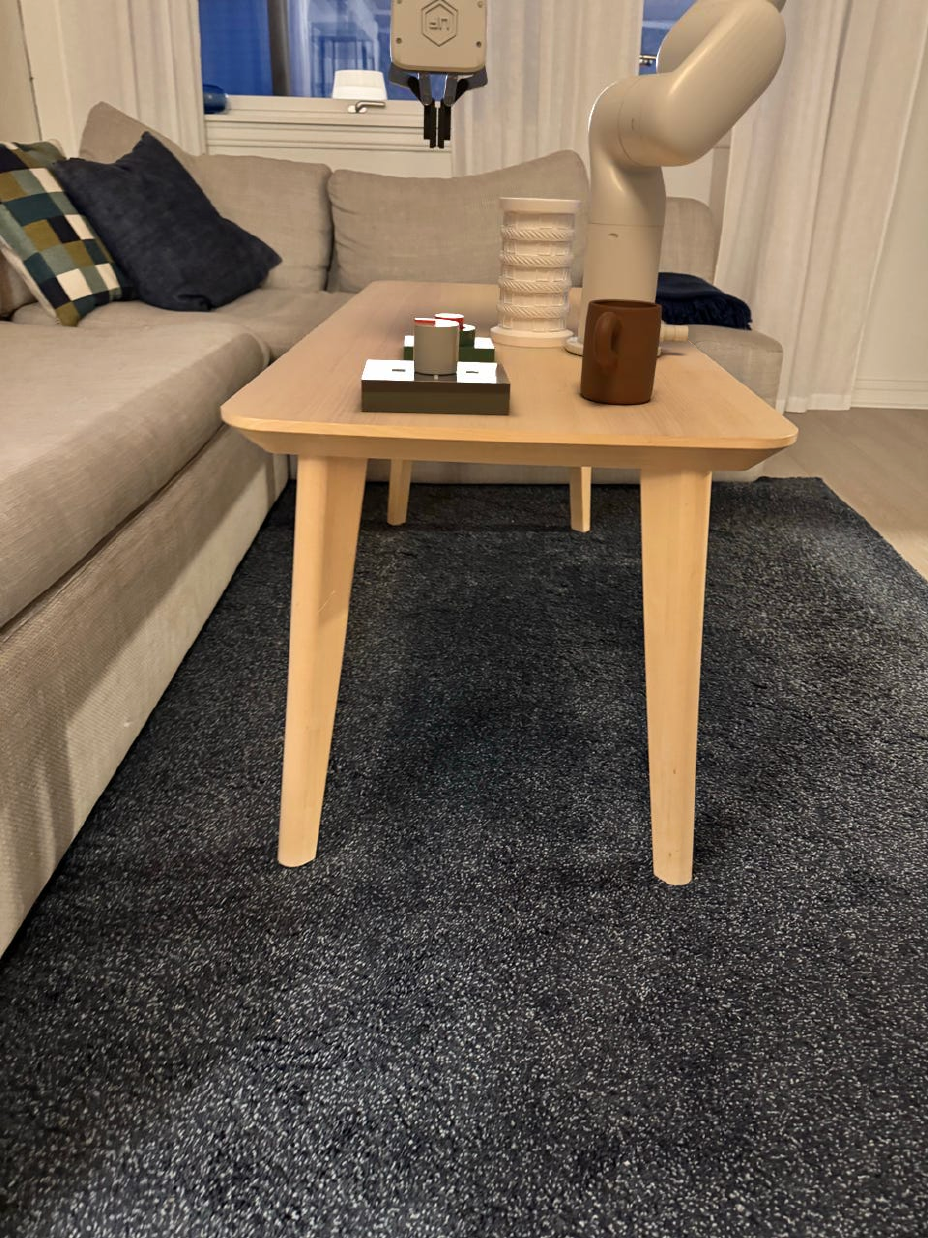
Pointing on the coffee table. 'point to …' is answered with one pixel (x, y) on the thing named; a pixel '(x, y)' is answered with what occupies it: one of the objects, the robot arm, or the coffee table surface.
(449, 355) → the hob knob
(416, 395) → the hob
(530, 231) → the decorative container
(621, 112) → the robot arm
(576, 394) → the coffee table surface
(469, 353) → the power box
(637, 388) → the mug
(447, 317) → the power button
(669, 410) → the coffee table surface
